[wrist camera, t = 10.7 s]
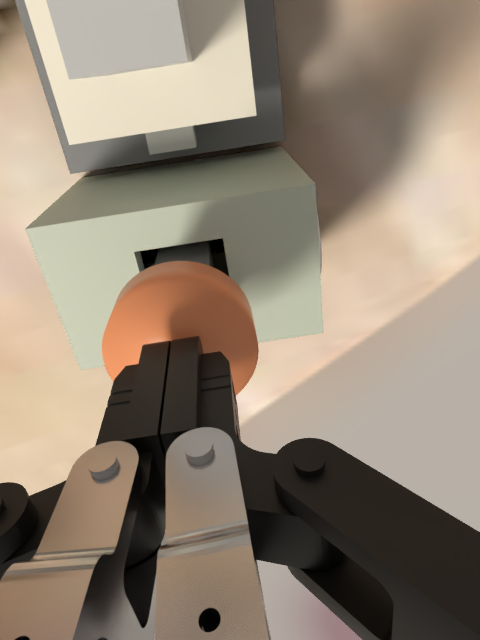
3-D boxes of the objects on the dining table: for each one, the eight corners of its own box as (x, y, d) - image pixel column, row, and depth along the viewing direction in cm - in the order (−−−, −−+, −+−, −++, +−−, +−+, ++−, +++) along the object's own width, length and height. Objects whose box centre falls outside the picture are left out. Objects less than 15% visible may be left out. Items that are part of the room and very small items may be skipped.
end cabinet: (289, 145, 22) (327, 181, 15) (297, 257, 25) (333, 331, 18) (81, 177, 22) (25, 228, 15) (114, 286, 25) (80, 370, 18)
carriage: (223, -107, 16) (238, -252, 9) (248, 107, 20) (275, 133, 12) (31, -75, 16) (-116, -193, 9) (90, 132, 20) (20, 173, 12)
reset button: (233, 203, 17) (248, 272, 12) (248, 303, 20) (266, 402, 14) (121, 221, 17) (80, 297, 12) (148, 318, 20) (125, 423, 14)
